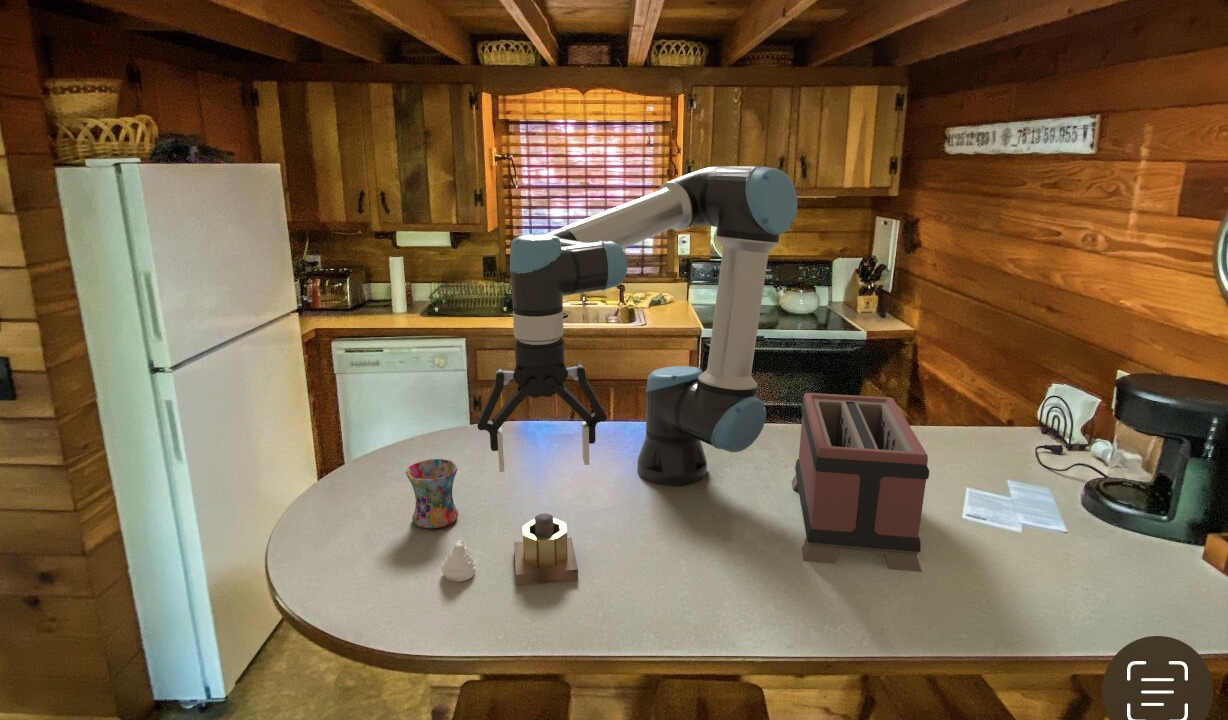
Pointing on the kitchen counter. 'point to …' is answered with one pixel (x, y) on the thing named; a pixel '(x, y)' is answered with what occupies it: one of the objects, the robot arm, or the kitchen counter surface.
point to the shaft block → (547, 574)
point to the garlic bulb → (459, 564)
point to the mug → (433, 492)
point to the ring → (545, 545)
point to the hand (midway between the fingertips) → (544, 464)
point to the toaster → (860, 480)
